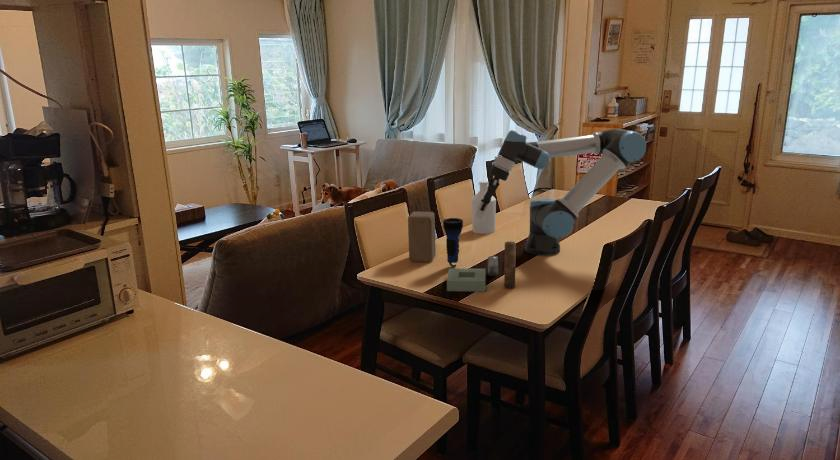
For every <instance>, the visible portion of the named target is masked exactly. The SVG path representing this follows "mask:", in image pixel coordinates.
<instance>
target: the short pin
mask: <svg viewBox="0 0 840 460" xmlns="http://www.w3.org/2000/svg"><path fill="white" fill-rule="evenodd" d="M498 275H499V257H498V256H497V255H489V256H487V276H491V277H495V276H498Z"/></svg>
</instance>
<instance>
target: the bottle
mask: <svg viewBox="0 0 840 460" xmlns="http://www.w3.org/2000/svg"><path fill="white" fill-rule="evenodd" d="M478 185H479V191H478V192H476V194H475V196H473V197H472V198H471V221H472V222H471V223H472V224H471V225H472V227H471V228H472V233H474V232H475V233H474V234H478V233H479V235H487V234H488V233H490V234H494V233H496V213H497V212H496V210H497V209H496V208H497V205H496V204H497V199H496V198H495V196H494V195H492V198H491V201H490V203H489V204H488V206H487V208H486V210H485V213H484V215H483V217H482V219H479V218H477V217H475V215H476V212H477V210H478V208H479V206H480V204H481V202H482V201H481V199H483V197H484V195H485V194H486V192H487V190H488V189H487V188H488V185H489V181H488V180H480V181H479V182H478ZM488 235H489V234H488Z"/></svg>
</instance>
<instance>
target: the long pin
mask: <svg viewBox="0 0 840 460" xmlns="http://www.w3.org/2000/svg"><path fill="white" fill-rule="evenodd" d="M516 244H517V243H516V242H515V241H505V242H504V266H503V267H504V268H503V269H504V273H503V275H504V277H503V279H504V280H503V281H504V282H503V285H504V288H505V289H507V290H513V289H515V288H516V266H517V265H516V255H517V254H516V252H517V250H516V249H517V247H516V246H517V245H516Z"/></svg>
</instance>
